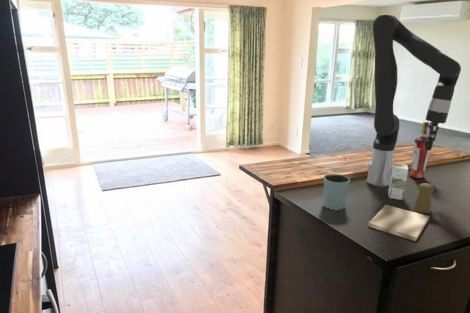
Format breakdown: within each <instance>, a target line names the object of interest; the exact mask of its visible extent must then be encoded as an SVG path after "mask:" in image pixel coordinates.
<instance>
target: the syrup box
mask: <svg viewBox="0 0 470 313" xmlns="http://www.w3.org/2000/svg"><path fill="white" fill-rule="evenodd" d="M408 174H409V167H408V164H402V163H395V162H392V168H391V175H390V182H389V185H388V190H387V194H388V199H391V200H396V201H404V197H405V190H406V185H407V178H408Z"/></svg>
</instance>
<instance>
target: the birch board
mask: <svg viewBox="0 0 470 313" xmlns="http://www.w3.org/2000/svg"><path fill="white" fill-rule="evenodd" d="M429 220H430V215H426V214H424V213H420V212H414V211H412V210H411V211H410V210H407V209H403V208H400V207H396V206H392V205H388V204H385V205H384V206H383V207H382V208H381V209H380V210H379V211H378V212H377V213H376V215H374V217H372V219H371V220H370V221H369V222H368V224H367V226H369V228H371V227H372V228H371V229H374V228H375V230H379V231H381V232H384V233H388V234H391V235H393V236H398V237H401V238H405V239H408V240H410V241H413V242H416V241H417V240H418V238H419V237H420V235H421V234H422V232H423V230H424V229H425V227H426V225H427V224H428V222H429Z"/></svg>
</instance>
